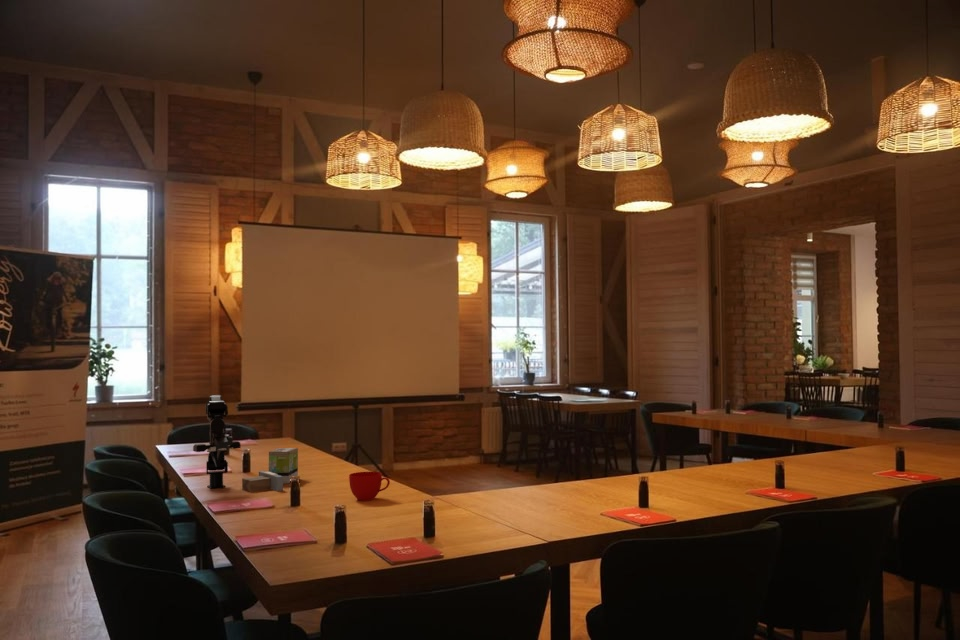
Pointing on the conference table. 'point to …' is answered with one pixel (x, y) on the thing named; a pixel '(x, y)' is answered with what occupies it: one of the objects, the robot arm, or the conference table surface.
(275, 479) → the gray and cream block
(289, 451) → the tea box
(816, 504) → the conference table surface
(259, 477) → the walnut block
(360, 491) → the ceramic cup
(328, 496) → the conference table surface
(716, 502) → the conference table surface
